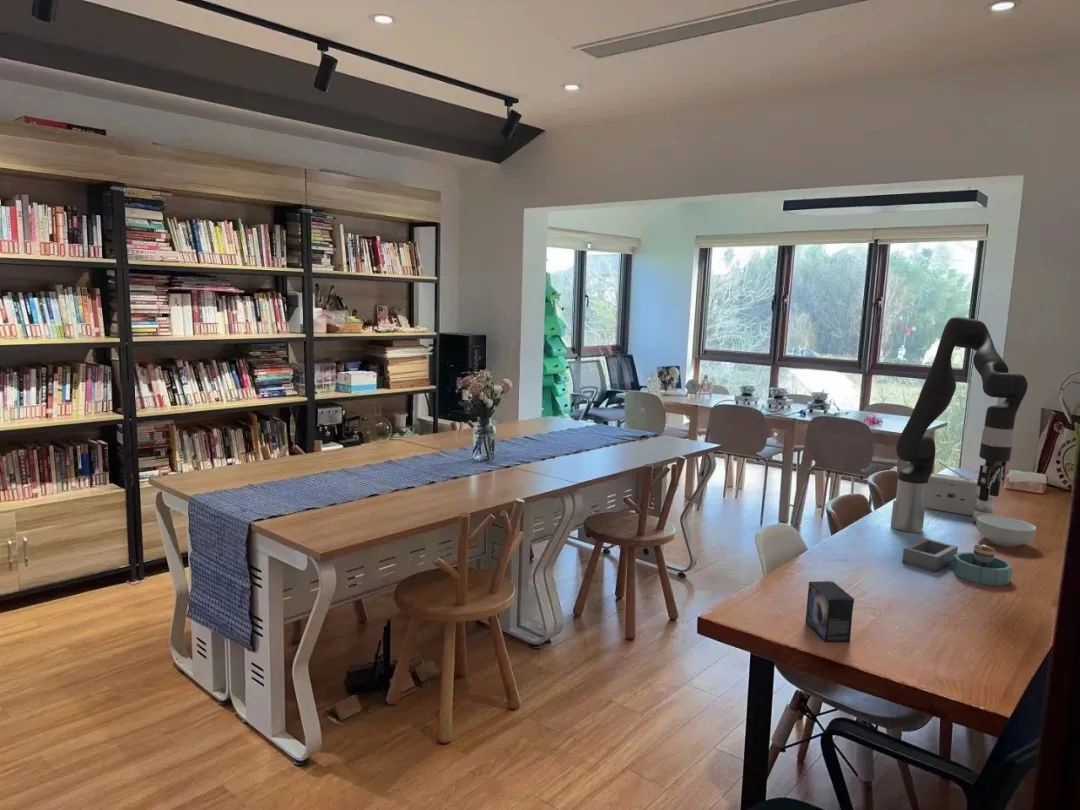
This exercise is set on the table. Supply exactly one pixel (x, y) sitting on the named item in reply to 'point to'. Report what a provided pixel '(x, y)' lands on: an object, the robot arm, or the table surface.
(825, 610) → the small box
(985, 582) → the cup
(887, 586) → the table surface
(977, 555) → the cell
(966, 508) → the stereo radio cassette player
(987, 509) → the plastic bottle
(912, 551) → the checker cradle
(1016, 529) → the cereal bowl
